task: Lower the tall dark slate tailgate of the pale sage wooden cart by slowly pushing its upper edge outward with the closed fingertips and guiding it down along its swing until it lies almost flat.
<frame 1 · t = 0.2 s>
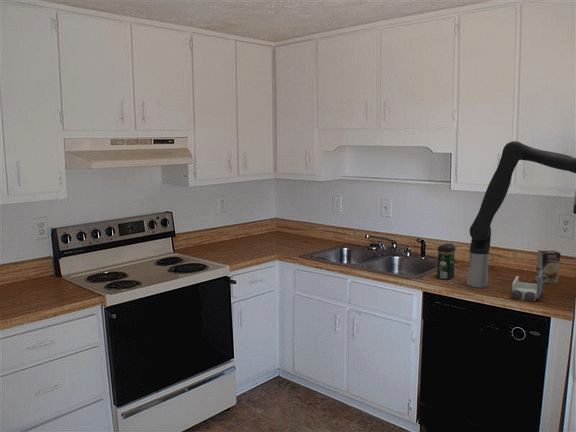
tailgate: (539, 284, 245), point 6 cm above the worktop, hinge at 0.0°
coffee box: (546, 282, 272), on the worktop
cart: (525, 295, 249), on the worktop
coffee jar: (445, 278, 280), on the worktop
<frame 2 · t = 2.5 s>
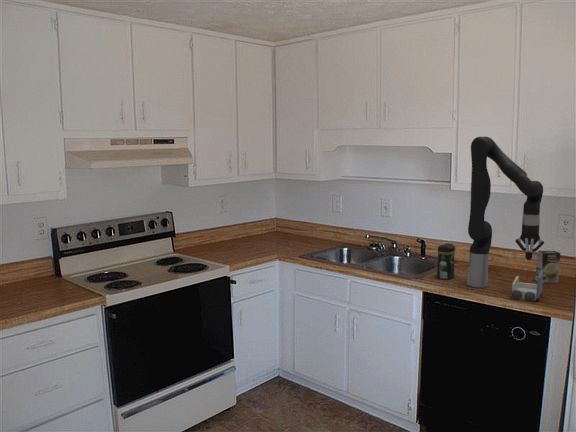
hand: (528, 259, 246), 18 cm above the worktop, tool pointing down, fingers closed
nothing on the worktop moved.
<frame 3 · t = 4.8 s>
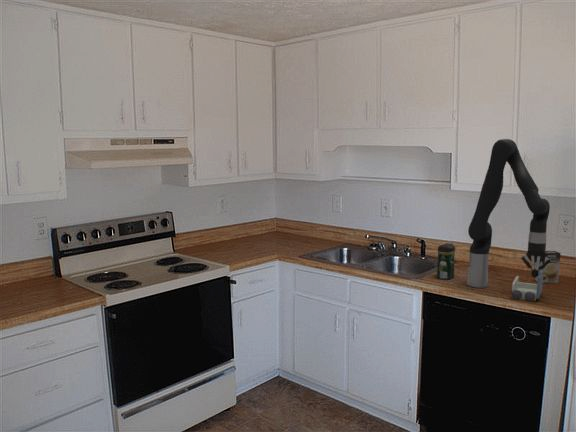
hand: (534, 277, 245), 9 cm above the worktop, tool pointing down, fingers closed
tailgate: (539, 284, 245), point 6 cm above the worktop, hinge at 0.1°, touching gripper
everything else where it was.
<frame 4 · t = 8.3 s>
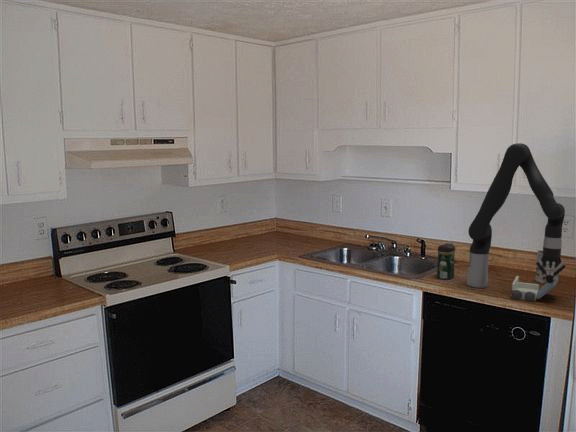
hand: (549, 282, 242), 8 cm above the worktop, tool pointing down, fingers closed
tailgate: (547, 287, 243), point 5 cm above the worktop, hinge at 40.9°, touching gripper
everything else where it was.
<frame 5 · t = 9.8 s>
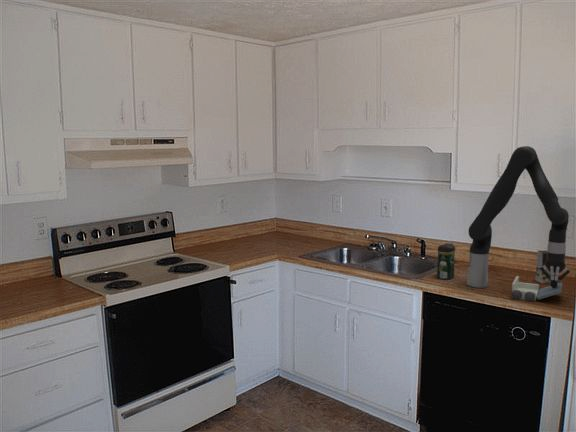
hand: (553, 287, 242), 6 cm above the worktop, tool pointing down, fingers closed
tailgate: (549, 290, 243), point 4 cm above the worktop, hinge at 62.5°, touching gripper
everything else where it was.
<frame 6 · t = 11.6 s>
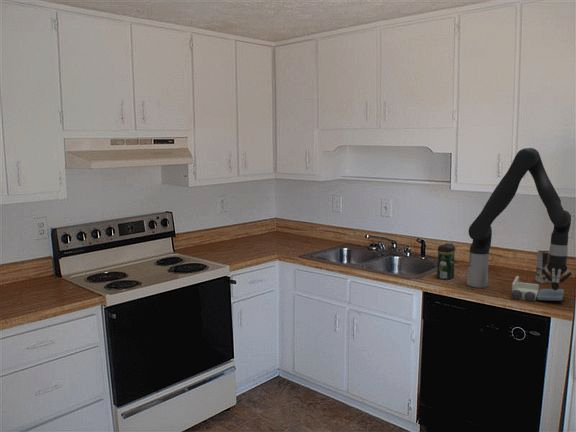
hand: (554, 289, 242), 5 cm above the worktop, tool pointing down, fingers closed
tailgate: (550, 294, 243), point 2 cm above the worktop, hinge at 82.9°
everything else where it was.
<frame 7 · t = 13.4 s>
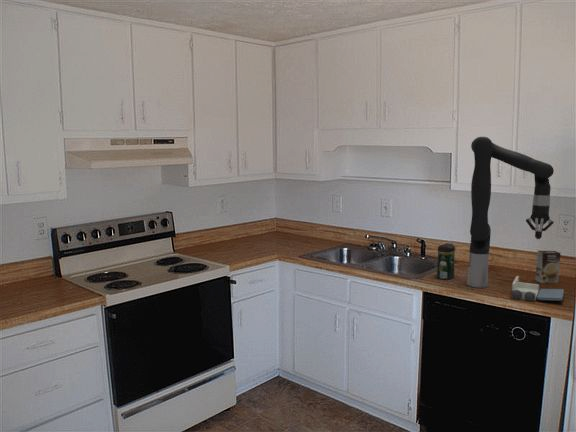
hand: (538, 238, 256), 25 cm above the worktop, tool pointing down, fingers closed
nothing on the worktop moved.
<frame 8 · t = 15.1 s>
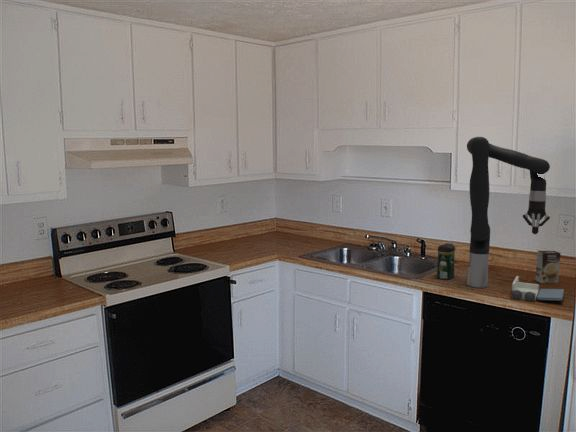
hand: (535, 234, 259), 27 cm above the worktop, tool pointing down, fingers closed
nothing on the worktop moved.
at the end: tailgate at +83° (first picture: +0°) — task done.
